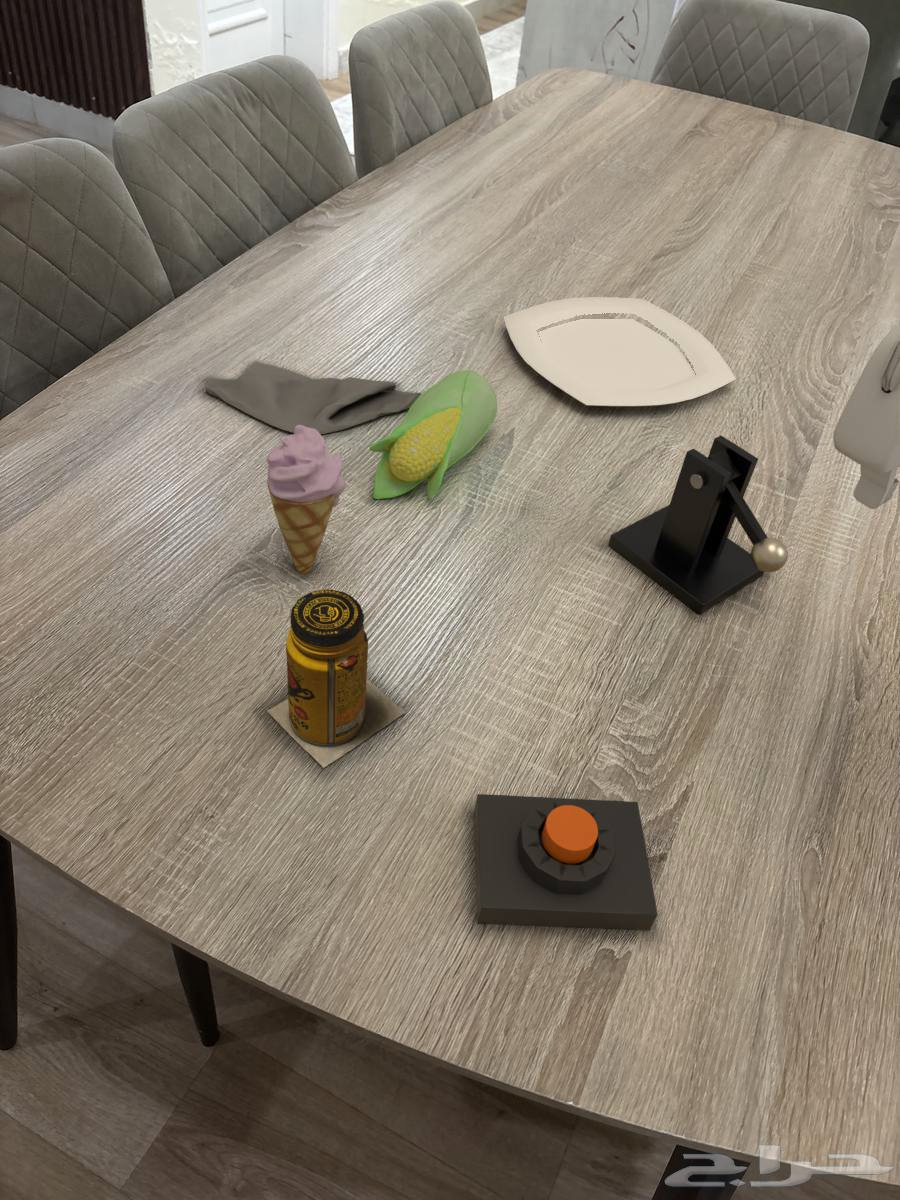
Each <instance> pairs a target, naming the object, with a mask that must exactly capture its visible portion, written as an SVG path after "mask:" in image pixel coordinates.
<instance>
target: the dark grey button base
mask: <svg viewBox="0 0 900 1200" xmlns="http://www.w3.org/2000/svg"><path fill="white" fill-rule="evenodd" d="M475 800H476V801H475V803H474V808H473V817H474V819H473V821H474V823H473V824H474V852H475V853H474V854H475V858H474V859H475V886H476V887H475V889H476V890H475V891H476V918H477V919H476V921H477V923H476V924H487V925H488V924H489V925H511V926H513V925H514V926H537V927H561V928H563V927H565V928H584V929H585V928H587V929H589V928H590V929H591V928H592V929H613V930H636V931H638V930H639V931H650V930H651V929H652V927H653V925H654V923H655V921H656V919H657V917H658V909H657V903H656V897H655V893H654V887H653V880H652V875H651V870H650V864H649V858H648V854H647V847H646V840H645V837H644V836H645V835H644V831H643V825H642V819H641V813H640V807H639V802H638V801H627V800H626V801H625V800H608V799H607V800H606V799H604V800H603V799H586V798H568V797H567V798H566V797H545V796H529V795H528V796H527V795H526V796H525V795H505V794H488V793H487V794H486V793H477V794H476V799H475ZM563 805H573V806H577V807H580V808H582V809H584V810H586V811H587V812H588V813H589V814H590V815H591V816H592V817H593V818H594V820H595V822H596V824H597V827H598V836H597V839H596V842H595V845H594V847H593V850H592V852H591V854H590V856H589V857H588V858H587V859H586V860H584V861H582V862H580V863H576V864H567V863H562V862H560V861H558V860H556V859H554V858H553V857H551V856H550V855H549V854H548V852H547V851H546V850H545V848H544V846H543V843H542V833H543V829H544V826H545V823H546V819H547V817H548V815H549V813H550V812H551V811H552V810H554V809H555V808H557V807H559V806H563Z"/></svg>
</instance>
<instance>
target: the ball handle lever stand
mask: <svg viewBox="0 0 900 1200" xmlns="http://www.w3.org/2000/svg"><path fill="white" fill-rule="evenodd" d="M723 449H725V450H726V452H727V453H728V455H729V457H730V458H731V460H732V461H733V463H734V465H735V466H736V468H737V469H738V471H739V473H740V475H739V476H738V477H736V478H735V479H733V480H732V481H733V482H734V484H735V486H736V487H737V489H738V490H739V492H740V494H741V495H742V497H743V498H744V497H745V495H746V491H747V489H748V487H749V484H750V481H751V479H752V477H753V474H754V471H755V469H756V466H757V464H758V461H759V458H758V457H756V456H755V455H753V454H751V453H750V452H748V451H747V450H745V449H744V448H742V447H740V446H739V445H738V444H736V443H734V442H732V441H731V440H729V439H728V438H726V437H725V436H723V435H718V436H716V437H715V438H714V439H713V442H712V444H711V447H710V450H709V453H708V456H706V455H705V454H703V453H702V452H700V451H699V450H697V449H695V448H692V449H690V450H688V451H686V453H685V455H684V456H685V457H684V459H683V462H682V464H681V468H680V471H679V475H678V478H677V480H676V484H675V487H674V490H673V493H672V495H671V499H670V502H669V504H668V505H666V506H665V507H662V508H660V509H659V510H656V511H654V512H653V513H650V514H648V515H646V516H645V517H643V518H641V519H638V520H637V521H635V522H633V523H631V524H630V525H627V526H625V527H623V528H621V529H619V530H618V531H616V532H614V533H612V534H611V535H610V537H609V541H608V544H607V545H608V547H610V548H611V549H612V550H614V551H615V552H616V553H618V554H619V555H620V556H621V557H622V558H625V560H627V561H628V562H630V563H631V564H632V565H633V566H634V567H636V568H637V569H638V570H640V571H641V572H642V573H643V574H645V575H646V576H647V577H649V578H650V579H651V580H652V581H654V582H656V583H657V584H658V585H659V586H660V587H661V588H663V589H664V590H666V591H667V592H668V593H669V594H671V595H673V596H674V597H675V598H677V600H679V601H680V602H681V603H682V604H684V605H685V606H686V607H688V608H689V609H691V610H692V611H693V612H694V613H695V614H697V615H698V616H700V615H702V614H703V613H705V612H707V611H708V610H710V609H712V608H713V607H715V606H717V605H718V604H719V603H721V602H723V601H724V600H726V599H727V598H729V597H730V596H732V595H734V594H736V593H738V592H739V591H740V590H742V589H744V588H745V587H747V586H748V585H750V584H751V583H753V582H755V581H756V580H758V579H760V578H761V577H763V576H764V574H765V572H763V571H760V570H759V569H757V568H756V567H755V566H754V565H753V563H752V561H751V552H749V551H747V550H746V549H744V548H743V547H742V546H740V545H739V544H737V543H736V542H734V541H733V540H732V539H730V538H729V535H730V532H731V530H732V527H733V524H734V522H735V520H736V516H735V515H734V513H733V512H732V510H731V508H730V507H729V505H728V504H727V502H726V500H725V499H724V497H723V494H724V491H725V488H726V486H727V483H728V480H729V477H730V475H731V472H729V471H728V470H726V469H725V468H723V467H721V466H720V465H718V464H717V463H715V462H714V461H712V460H711V459H709V458H708V457H709V456H711V455H713V454H715V453H717V452H719V451H721V450H723Z"/></svg>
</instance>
